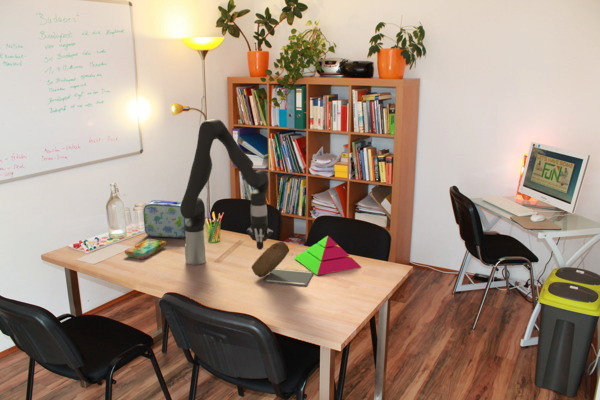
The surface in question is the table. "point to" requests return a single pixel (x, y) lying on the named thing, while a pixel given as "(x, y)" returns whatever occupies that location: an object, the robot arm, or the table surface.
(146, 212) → the lunch box
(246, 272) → the table surface
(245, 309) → the table surface
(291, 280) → the mat
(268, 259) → the brown rounded elongated part
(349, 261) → the pyramid toy
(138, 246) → the puzzle game
